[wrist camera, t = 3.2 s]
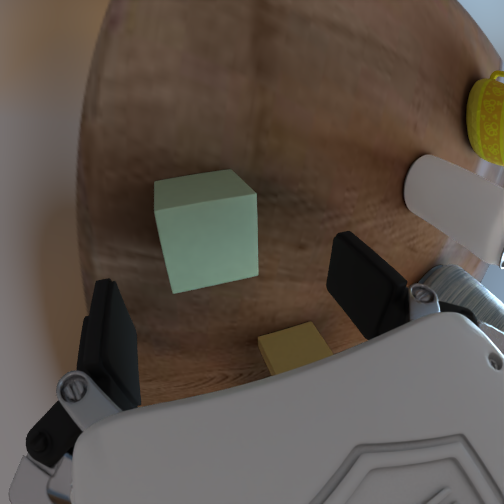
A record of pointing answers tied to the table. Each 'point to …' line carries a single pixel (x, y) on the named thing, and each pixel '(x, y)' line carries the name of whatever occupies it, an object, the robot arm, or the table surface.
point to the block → (206, 229)
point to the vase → (465, 293)
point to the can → (458, 205)
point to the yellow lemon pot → (487, 119)
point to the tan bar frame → (292, 348)
